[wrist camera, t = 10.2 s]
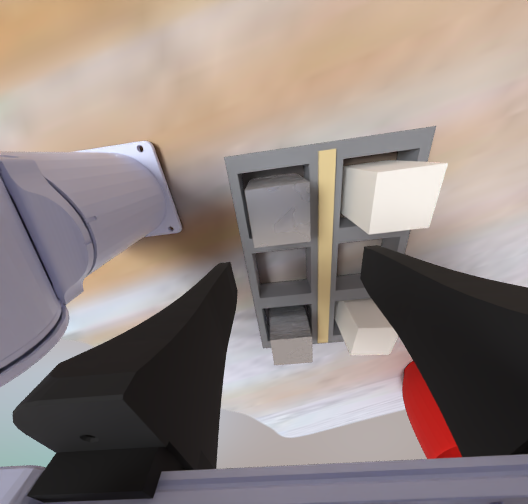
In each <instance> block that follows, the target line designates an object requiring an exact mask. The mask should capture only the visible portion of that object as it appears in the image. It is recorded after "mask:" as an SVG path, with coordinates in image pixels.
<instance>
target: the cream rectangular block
mask: <svg viewBox="0 0 528 504" xmlns="http://www.w3.org/2000/svg"><path fill="white" fill-rule="evenodd" d="M334 318H335V321H336V323H337V325H338V328H339V330H340V332H341V335H342V337H343V339H344V342H345V344H346V346H347V349H348V351H349V353H350V355H390V353H391V351H392V348H393V346H394V344H395V342H396V340H397V337H398V334H397V333H396V331H395V330H394V329H393V327H392V326H391V325H390V323H389V322H388V320H387V319H386V318H385V316H384V315H383V314H382V312H381V311H380V310H379V308H378V307H377V306H376V304H375V303H374V301H373V300H372V299H371V298H366V299H356V300H346V301H335V307H334Z"/></svg>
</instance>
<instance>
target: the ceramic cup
mask: <svg viewBox="0 0 528 504" xmlns="http://www.w3.org/2000/svg"><path fill="white" fill-rule="evenodd" d="M402 392H403V400H404V404H405V408H406V412H407V415H408V417H409V420H410V423H411V425H412V428H413V430H414V432H415V434H416V437H417V439H418V441H419V443H420V445H421V447H422V449H423V451H424V453H425V455H426V457H427V459H437V458H458V457H462V455H461V453H460V451H459V449H458V447H457V444H456V442H455V440H454V438H453V436H452V434H451V432H450V430H449V428H448V426H447V424H446V422H445V419H444V417H443V415H442V413H441V411H440V409H439V407H438V405H437V403H436V402H435V400H434V398H433V396H432V394H431V392H430V390H429V388H428V386H427V384H426V382H425V380H424V379H423V377H422V375H421V373H420V371H419V370H418V368H417V366H416V364H415V362H414V361H413V362H411V363H410V364H409V365H408V366H407V367H406V368H405V370H404V379H403V387H402Z"/></svg>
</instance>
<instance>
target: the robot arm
mask: <svg viewBox="0 0 528 504" xmlns="http://www.w3.org/2000/svg"><path fill="white" fill-rule="evenodd" d="M140 146H142V147H143V152H142V151H141V150H140ZM170 227H173V229H174V230H171V229H170ZM181 230H182V225H181V222H180V219H179V217H178V214H177V211H176V208H175V205H174V202H173V199H172V197H171V194H170V191H169V188H168V185H167V182H166V179H165V177H164V174H163V171H162V168H161V165H160V162H159V160H158V157H157V154H156V151H155V148H154V146H153V144H152V143H151V142H149V141H139V142H133V143H126V144H120V145H114V146H107V147H101V148H95V149H88V150H82V151H75V152H0V387H1V386H3V385H5V384H6V383H8V382H9V381H11V380H13V379H14V378H16V377H17V376H19V375H20V374H22V373H23V372H25V371H26V370H27V369H29V368H30V367H31V366H32V365H34V364H35V363H36V362H38V361H39V360H40V359H41V358H42V357H43V356H45V355H46V354H47V353H48V352H49V351H50V350H51V349H52V348H53V347H54V346H55V345H56V344H57V342H58V341H59V340H60V339H61V337H62V336H63V334H64V333H65V331H66V328H67V326H68V323H69V312H68V310H67V307H66V306H65V305H66V304H67V303H69V302H70V301H71V300H73V299H74V298H75V297H77V296H78V295H79V294H81V293H82V292H83V291H84V290H83V280H84V278H85V277H87V276H88V275H89V274H91V273H92V272H94V271H95V270H97V269H98V268H100V267H101V266H102V265H104V264H105V263H107V262H108V261H110V260H111V259H113V258H114V257H115V256H117V255H118V254H120V253H121V252H123V251H124V250H125V249H127V248H128V247H130V246H131V245H133V244H134V243H136V242H137V241H138V240H140V239H141V238H143V237H149V236H157V235H165V234H173V233H179V232H180V231H181ZM360 279H361V281H362V283H363V285H364V287H365V289H366V291H367V293H368V294H369V296H370V297H371V299H372V300H373V301H374V303H375V304H376V306H377V307H378V308H379V310H380V311H381V312H382V314H383V315H384V316H385V318H386V319H387V320H388V322H389V323H390V325H391V326H392V327H393V329H394V330H395V331H396V333H397V334H398V336H399V337H400V339H401V340H402V342H403V344H404V345H405V347H406V349H407V350H408V352H409V354H410V356H411V357H412V359H413V361H414V362H415V364H416V366H417V368H418V370H419V371H420V373H421V375H422V377H423V379H424V380H425V382H426V384H427V386H428V388H429V390H430V392H431V394H432V396H433V398H434V400H435V402H436V403H437V405H438V407H439V409H440V411H441V413H442V415H443V417H444V419H445V422H446V424H447V426H448V428H449V430H450V432H451V434H452V436H453V438H454V440H455V442H456V444H457V447H458V449H459V451H460V453H461V455H462V457H458V458H437V459H417V460H395V461H375V462H353V463H333V464H311V465H291V466H269V467H248V468H227V469H216V462H217V447H218V432H219V419H220V407H221V396H222V386H223V377H224V368H225V360H226V352H227V347H228V342H229V338H230V333H231V329H232V324H233V320H234V315H235V311H236V304H237V292H238V291H237V287H236V283H235V279H234V275H233V271H232V267H231V263H230V262H226V263H219V264H218V265H217V266H215V267H214V268H213V269H212V270H211V271H210V272H209V273H208V274H207V275H206V276H205V277H204V278H202V279H201V280H200V281H199V282H198V283H197V284H196V285H195V286H193V287H192V288H191V289H190V290H189V291H187V292H186V293H185V294H184V295H183V296H181V297H180V298H179V299H177V300H176V301H175V302H173V303H172V304H170V305H169V306H168V307H166V308H165V309H163V310H162V311H160V312H159V313H157V314H155V315H154V316H152V317H150V318H149V319H147V320H146V321H144V322H142V323H141V324H139V325H137V326H135V327H134V328H132V329H130V330H128V331H126V332H124V333H123V334H121V335H119V336H117V337H115V338H113V339H111V340H109V341H107V342H105V343H103V344H101V345H99V346H96V347H94V348H92V349H90V350H88V351H86V352H83V353H81V354H79V355H77V356H75V357H72V358H70V359H68V360H66V361H63V362H61V363H59V364H58V365H57V366H56V367H55V368H54V369H53V370H52V371H51V372H50V373H49V374H48V375H47V376H46V377H45V378H44V379H43V381H42V382H41V383H40V384H39V385H38V386H37V387H36V388H35V389H34V390H33V391H32V392H31V393H30V394H29V395H28V396H27V397H26V398H25V399H24V400H23V401H22V402H21V403H20V404H19V405H18V406H17V407H16V409H15V410H14V411H13V423H14V424H15V425H16V426H17V428H18V429H20V430H21V431H22V432H23V433H25V434H26V435H28V436H30V437H31V438H33V439H34V440H36V441H38V442H39V443H41V444H43V445H44V446H46V447H48V448H49V449H51V450H53V451H54V452H56V454H55V456H54V457H53V458H52V460H51V462H50V463H49V464H48V466H47V467H46V468H45V467H41V466H33V465H32V466H31V465H29V466H28V465H27V466H10V467H9V466H8V467H0V504H528V288H527V287H522V286H517V285H512V284H507V283H502V282H498V281H493V280H489V279H484V278H480V277H477V276H473V275H469V274H465V273H461V272H457V271H454V270H450V269H447V268H444V267H441V266H437V265H434V264H431V263H428V262H425V261H422V260H419V259H416V258H413V257H410V256H408V255H405V254H402V253H399V252H396V251H393V250H390V249H387V248H384V247H381V246H367V247H364V253H363V261H362V268H361V276H360Z"/></svg>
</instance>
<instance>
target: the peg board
mask: <svg viewBox="0 0 528 504" xmlns="http://www.w3.org/2000/svg"><path fill="white" fill-rule="evenodd" d="M435 129H436V126H433V127H426V128H419V129H412V130H405V131H399V132H392V133H385V134H378V135H371V136H365V137H358V138H351V139H344V140H338V141H331V142H324V143H317V144H310V145H304V146H297V147H290V148H283V149H276V150H270V151H263V152H256V153H249V154H242V155H236V156H229V157H224V159H225V164H226V169H227V174H228V179H229V184H230V188H231V193H232V198H233V203H234V208H235V213H236V218H237V223H238V228H239V233H240V237H241V242H242V247H243V252H244V257H245V262H246V267H247V272H248V277H249V282H250V287H251V291H252V296H253V301H254V306H255V311H256V316H257V321H258V326H259V331H260V336H261V340H262V345H263V348H271V342H270V325H267V320H266V314H265V308H274V307H284V306H294V305H305V304H307V306H308V323H309V327H310V331H311V334H312V344H319V343H331V342H343V341H344V339H343V337H342V335H341V332H340V330H339V328H338V325H337V323H336V321H335V319H334V307H335V301H346V300H356V299H366V298H371V297H370V296H369V294H368V293H367V291H366V289H365V287H364V285H363V283H362V281H361V279H360V276H361V273H360V274H351V275H341V276H336V273H337V257H338V244H339V243H348V242H357V241H365V240H374V239H382V244H381V247H384V248H387V249H390V250H393V251H396V252H399V253H402V254H405V250H406V246H407V242H408V238H409V234H410V230H404V231H395V232H387V233H378V234H370V235H369V234H367V233H366V232H365V231H363V230H362V229H361V228H360V227H358V226H357V225H356V224H354V223H353V222H352V221H351V220H349V219H348V218H347V217H346V218H340V206H341V189H342V172H343V159H346V158H353V157H360V156H367V155H374V154H382V153H389V152H396V151H398V154H397V160H400V161H419V162H427V161H428V157H429V153H430V149H431V145H432V141H433V137H434V133H435ZM297 165H303V171H304V179H306V180H308V181H309V182H310V236H311V241H310V242H301V243H293V244H284V245H276V246H267V247H259V248H254V242H253V237H252V231H251V227H250V221H249V215H248V209H247V204H246V198H245V192H244V186H243V180H242V175H241V173H247V172H254V171H261V170H268V169H275V168H282V167H290V166H297ZM305 247H306V272H307V279H303V280H294V281H284V282H275V283H265V284H260V279H259V273H258V268H257V262H256V256H255V253H261V252H270V251H279V250H287V249H296V248H305Z"/></svg>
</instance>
